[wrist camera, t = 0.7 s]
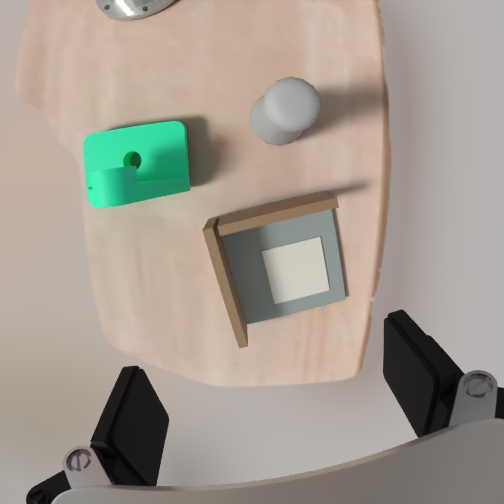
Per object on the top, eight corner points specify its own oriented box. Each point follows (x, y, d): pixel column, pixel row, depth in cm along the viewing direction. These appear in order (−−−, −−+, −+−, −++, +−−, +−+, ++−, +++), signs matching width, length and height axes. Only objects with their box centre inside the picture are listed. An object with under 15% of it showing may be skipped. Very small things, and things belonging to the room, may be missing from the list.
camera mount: (188, 122, 32) (167, 109, 23) (191, 188, 35) (172, 201, 25) (93, 136, 32) (46, 133, 22) (97, 197, 34) (53, 213, 25)
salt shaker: (259, 89, 31) (271, 53, 19) (307, 107, 32) (344, 83, 20) (241, 136, 33) (242, 123, 20) (290, 154, 34) (318, 152, 21)
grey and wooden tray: (208, 219, 36) (202, 230, 30) (326, 190, 35) (341, 196, 30) (239, 323, 40) (239, 348, 34) (344, 297, 39) (358, 317, 34)
